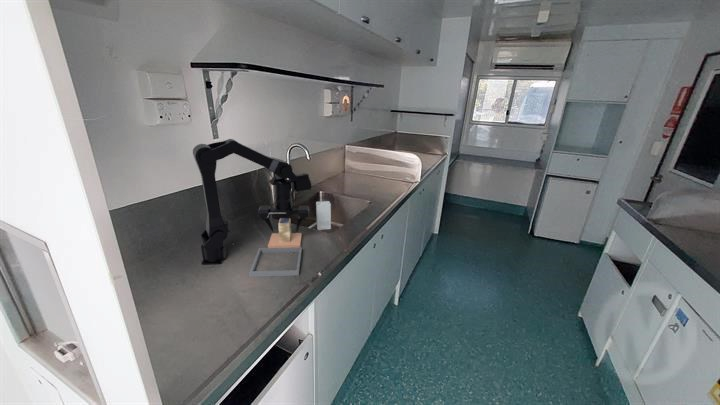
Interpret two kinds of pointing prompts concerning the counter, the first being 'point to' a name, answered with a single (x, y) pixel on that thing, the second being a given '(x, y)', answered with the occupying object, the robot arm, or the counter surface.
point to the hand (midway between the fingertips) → (285, 231)
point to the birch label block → (284, 229)
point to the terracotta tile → (293, 242)
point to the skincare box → (323, 215)
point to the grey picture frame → (275, 273)
